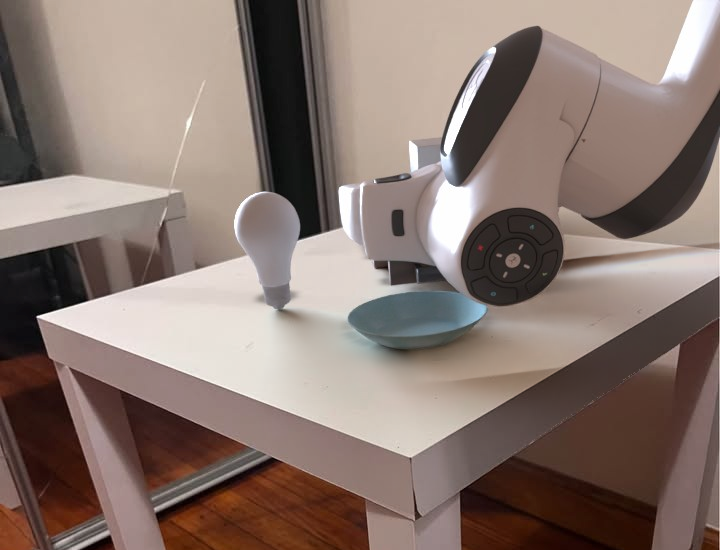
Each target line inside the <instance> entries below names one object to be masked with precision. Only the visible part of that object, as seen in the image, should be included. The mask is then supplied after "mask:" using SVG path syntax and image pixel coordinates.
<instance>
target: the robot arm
mask: <svg viewBox="0 0 720 550" xmlns="http://www.w3.org/2000/svg"><path fill="white" fill-rule="evenodd" d="M672 51H673V52H672V54H671V57H670V59H669V62H668V65H667V67H666V69H665V72H664V74H663V77H662V78H661V79H660V81H659V82H658V83H656V84H655V83H650V82H648V81H646V80H644V79H642V78H640V77H639V76H637V75H634V74H632V73H630V72H629V71H626V70H624V69H622V68H620V67H618V66H616V65H615V64H612V63H610V62H609V61H606V60H605V59H602V58H601V57H599V56H598V55H597V54H596V53H594V52H593V51H591V50H588V49H587V48H585V47H582V46H580V45H579V44H576V43H574V42H572V41H571V40H568V39H566V38H564V37H562V36H560V35H557V34H555V33H553V32H551V31H549V30H546V29H544V28H542V26H540V25H534V26H528V27H525V28H522V29H520V30H517V31H515V32H513V33H511V34H510V35H507V36H506V37H505V38H503V39H502V40H500V41H499V42H497V43H496V44H494V45H493V46H491V47H490V48H489V49H488V50H486V51H485V52H483V54H482V55H481V56H480V57H479V58H478V60H477V61H476V62H475V63H474V65H473V66H472V67H471V69H470V70H469V72H468V74H467V75H466V77H465V79H464V81H463V82H462V84H461V86H460V88H459V90H458V92H457V94H456V97H455V99H454V101H453V103H452V106H451V109H450V111H449V114H448V117H447V119H446V122H445V126H444V129H443V133H442V136H441V137H442V140H441V146H440V154H441V161H440V162H438V163H436V164H431V165H428V166H425V167H423V168H420V169H418V170H415V171H412V172H411V171H409V172H404V173H399V174H395V175H390V176H385V177H377V178H375V179H369V180H364V181H363V182H362V183H350V184H344V185H341V186H340V187H339V188H338V201H339V202H338V203H339V212H340V220H341V225H342V228H343V230H344V232H345V233H346V235H347V236H348V237H349V239H350V240H351V241H352V242H353V243H355V244H356V245H359V246H362V247H364V252H365V256H366V259H368V260H370V261H371V260H374V261H403V262H418V263H423V264H428V265H432V266H436V267H437V268H438V270H439V271H440V273H441V274H442V275H443V276H444V278H445V279H446V280H445V281H447V283H448V284H450V286H452V287H453V288H454V289H455V290H456V291H457V292H458V293H461V294H463V295H464V296H465V297H467V298H469V299H470V300H472V301H474V302H477V303H479V304H483V305H486V306H487V307H493V308H506V307H512V306H517V305H520V304H522V303H525V302H528V301H530V300H532V299H534V298H536V297H537V296H539V295H540V294H542V293H543V292H544V291H546V290H547V289H548V288H549V287H550V286H551V284H553V283H554V281H555V280H556V278H557V276H558V275H559V273H560V271H561V269H562V267H563V264H564V261H565V255H566V254H565V253H566V242H565V235H564V231H563V228H562V225H561V221H560V217H559V213H560V208H565V209H567V210H569V211H572V212H573V213H576V214H578V215H580V216H581V218H583V219H585V220H586V221H588V222H590V223H592V224H593V225H595V226H597V227H598V228H600V229H602V230H604V231H605V232H607V233H609V234H611V235H612V236H615V237H616V238H618V239H621V240H628V239H633V238H638V237H641V236H644V235H647V234H650V233H653V232H655V231H657V230H660V229H663V228H665V227H666V226H669V225H670V224H672V223H674V222H675V221H677V220H679V219H680V218H681V217H682V216H684V214H686V213H687V212H688V210H689V209H690V208H691V207H692V206H693V205H694V203H695V202H696V201H697V199H698V197H699V195H700V194H701V192H702V190H703V189H704V186H705V183H707V182H706V181H707V179H708V177H709V175H710V171H711V169H712V166H713V163H714V160H715V156H716V153H717V150H718V145H719V141H720V0H692V2H691V5H690V7H689V10H688V12H687V15H686V17H685V20H684V22H683V26H682V28H681V30H680V33H679V36H678V39H677V41H676V43H675V46H674V49H673V50H672Z"/></svg>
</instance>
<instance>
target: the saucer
mask: <svg viewBox="0 0 720 550" xmlns="http://www.w3.org/2000/svg"><path fill="white" fill-rule="evenodd" d="M488 309H489V308H488V306H486V305H483V304H479V303H477V302H474V301H472V300H470V299H469V298H467V297H465V296H464V295H463V294H461V293H460V292H458V291H445V290H419V291H406V292H401V293H399V292H398V293H394V294H393V293H392V294H388V295H385V296H380V297H377V298H375V299H371V300H368V301H365V302H364V303H361V304H359V305H357V306H356V307H354V308H353V309H352V310H350V312H349V313H348V315H347V317H346V318H347V322H348V324H349V325H350V327H351V328H353V329H354V330H355V331H356V332H358V333H359V334H360V335H362V336H363V337H365V338H367V339H368V340H370V341H371V342H373V343H376V344H379V345H380V346H384V347H387V348H391V349H395V350H396V349H397V350H409V351H411V350H414V351H415V350H425V349H432V348H436V347H440V346H443V345H446V344H449V343H451V342H453V341H455V340H457V339H459V338H460V337H462V336H464V335H465V334H467V333H468V332H469V331H471V330H472V329H473V328H474V327H475V326H476V325H478V324H479V322H480V321H482V320H483V318H484V317H485V316H486V315H487V313H488Z"/></svg>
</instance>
